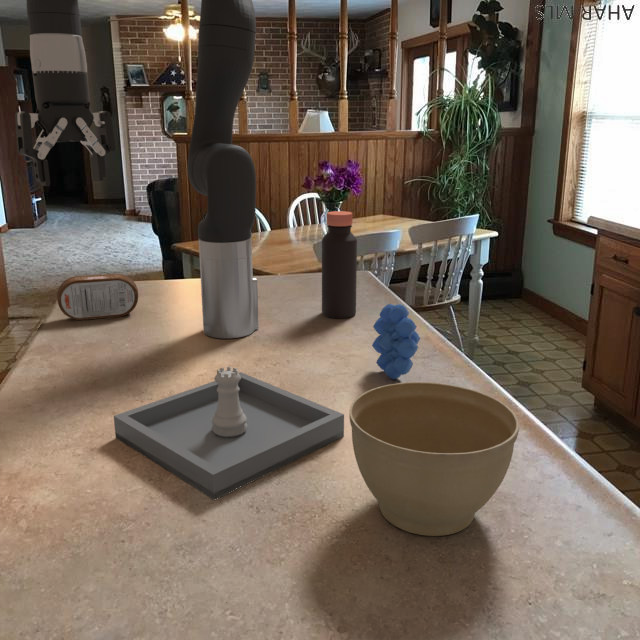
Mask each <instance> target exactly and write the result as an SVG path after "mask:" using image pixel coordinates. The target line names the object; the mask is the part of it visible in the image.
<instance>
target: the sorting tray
mask: <svg viewBox="0 0 640 640" xmlns="http://www.w3.org/2000/svg"><path fill="white" fill-rule="evenodd" d="M238 374H239V375H240V376H241V379H240V381H239V382H238V387H239V388H240V390H239V392H238V397H239V402H240V407H241V409H242V410H243V413H244V414H245V416H246V418H247V421H246V424H247V425H248V427H247V430H246V431H245V432H244V433H243V434H242V435H240V436H237V437H232V438H224V437H219V436H218V435H216V434H215V433H214V432H213V430H212V426H213V423H212V419H213V416H214V415H215V412H216V411H217V408H218V398H219V397H218V392H217V388H218V383H217V382H216V381H215V380H214V381H211V382H208V383H205V384H202V385H200V386H197V387H194V388H190V389H187V390H185V391H182V392H178V393H177V394H174V395H173V394H172V395H171V396H166V397H164V398H161V399H158V400H156V401H153V402H152V401H151V402H150V403H148V404H143V405H141V406H139V407H135V408H132V409H129V410H126V411H124V412H121V413H118V414H115V415H113V422H114V435H115V439H116V440H118V441H120V442H122V443H123V444H125V445H127V446H128V447H130V448H131V449H133V450H134V451H136V452H137V453H139V454H141V455H142V456H144V457H146V458H147V459H148V460H150V461H152V462H153V463H154V464H156V465H158V466H159V467H161V468H163V469H164V470H166V471H167V472H169V473H170V474H172V475H174V476H175V477H177V478H178V479H180V480H182V481H183V482H185V483H186V484H188V485H189V486H191V487H193V488H194V489H196V490H198V492H200V493H202V492H203V493H202V494H204V495H205V494H206V496H207V497H208V496H209V498H210V497H211V498H210V499H211V500H213V499H214V500H213V501H216V500H218V499H220V498H222V497H224V496H226V495H228V494H230V493H232V492H234V491H236V490H237V489H236V488H238V489H240V488H241V487H240V486H242V487H244V486H246V485H248V484H250V483H249V482H251V481H253V480H255V479H257V478H259V477H261V478H262V476H263V475H265V476H266V474H267V475H268V473H269V474H271V473H272V472H275V471H276V470H279V469H281V468H283V467H285V466H288V465H289V464H291V463H293V462H295V461H297V460H299V459H301V458H303V457H305V456H307V455H310V454H312V453H313V452H315V451H317V450H319V449H322V448H323V447H325V446H328V445H330V444H331V443H334V442H336V441H338V440H340V439H342V438H344V437H345V434H344V433H345V414H344V413H342V412H339V411H336V410H334V409H331V408H329V407H327V406H324V405H322V404H319V403H317V402H314V401H312V400H309V399H307V398H305V397H303V396H300V395H297V394H295V393H292V392H290V391H288V390H285V389H283V388H280V387H278V386H276V385H273V384H270V383H268V382H265V381H263V380H261V379H258V378H257V377H254V376H251V375H249V374H246V373H243V372H242V371H240V372H238ZM270 472H271V473H270ZM263 477H264V476H263ZM259 479H260V478H259ZM257 480H258V479H257ZM255 481H256V480H255ZM253 482H254V481H253ZM247 483H248V484H247ZM251 483H252V482H251ZM245 484H246V485H245ZM243 485H244V486H243ZM239 487H240V488H239ZM235 489H236V490H235ZM233 490H234V491H233ZM231 491H232V492H231ZM229 492H230V493H229ZM227 493H228V494H227ZM225 494H226V495H225ZM223 495H224V496H223ZM221 496H222V497H221ZM219 497H220V498H219ZM217 498H218V499H217ZM215 499H216V500H215Z"/></svg>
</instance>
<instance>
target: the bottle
mask: <svg viewBox="0 0 640 640" xmlns="http://www.w3.org/2000/svg"><path fill="white" fill-rule="evenodd" d="M353 218H354V217H353V212H352V211H344V210H342V211H341V210H334V211H329V212H326V228H328V232H327V233H326V234H324V236H323V237H322V239H321V314H322V315H323V316H325V317H327V318H331V319H347V318H352V317H354V316H355V315H356V313H357V273H358V272H357V265H358V264H357V263H358V239H357V237H356V236H355V235H354V234H353V233H352V232H351V230H352V229H351V228H353Z"/></svg>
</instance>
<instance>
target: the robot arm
mask: <svg viewBox="0 0 640 640" xmlns="http://www.w3.org/2000/svg"><path fill="white" fill-rule="evenodd" d="M26 14H27V16H26V17H27V23H28V32H29V33H28V34H29V57H30V63H31V71H32V72H31V73H32V79H33V80H32V81H33V87H34V97H35V102H36V112H35V113H34V112H33V113H31V112H30V113H29V112H26V111H17V112H15V114H14V121H15V133H16V148H17V153H18V154H19V155H20V156H26V157H28V158H30V159H31V160H32V162H33V164H32V165H33V172H34V179H35V180H36V182H37V183H38V184H39V185H40V186H43V187H46V186H47V187H49V186H51V179H50V177H51V176H50V168H49V161H48V159H46V157H47V155H48V154H49V152H50V150H51V149H52V148H53V147H54V146H55V144H56V143H67V142H74V143H75V142H80V143H81V144H82V145H83V146H84V147H85V148H86V149H87V150H88V151H89V154H91V155H92V156H91V155H90V156H89V157H90V167H91V168H90V169H91V175H92V177H91V178H92V180H93V181H94V182H103V181H104V178H106V175H107V171H106V160H105V159H106V158H105V156H106V155H107V154H108V153H111V152H115V150H116V140H115V135H114V128H113V127H114V126H113V120H112V119H113V118H112V114H111V112H110V111H107V110H106V111H105V110H104V111H103V110H102V111H101V110H100V111H96V112H92V109H91V106H90V102H91V96H90V88H89V75H88V63H87V56H86V55H87V54H86V50H85V46H84V41H83V37H82V36H83V35H82V34H83V33H82V24H81V14H80V8H79V0H26ZM199 16H200V17H199V25H198V26H199V28H198V41H197V42H198V44H197V45H198V47H197V48H198V49H197V70H196V71H197V74H196V87H195V110H194V117H193V124H192V131H191V137H190V143H189V149H188V157H187V166H186V167H187V177H188V180H189V182H190V185H191V186H192V188H193V189H194V190H195V191H196V192H197V193H199V194H200V195H203V196H205V197H206V198H207V210H206V212H207V213H206V215H205V218H204V219H201V220H200V222H199V223H198V224H197V234H198V235H197V237H198V251H199V252H198V255H199V256H198V257H199V269H200V270H199V271H200V272H199V273H200V274H199V275H200V287H201V305H202V325H203V327H202V328H203V329H202V331H203V334H204V335H206V336H208V337H210V338H213V339H214V338H216V339H237V338H242V337H246V336H249V335H251V334H252V333H254V331H255V330H258V329H259V328H260V327H259V300H258V299H259V297H258V279H257V278H256V277H255V276H253V271H254V270H253V248H252V247H253V243H252V228H253V227H254V226H253V225H254V222H255V219H256V210H257V209H256V206H257V204H256V203H257V201H256V199H257V193H256V192H257V177H256V176H257V175H256V168H255V164H254V161H253V158H252V155H250V153H249V152H248V150H246V149H245V148H244V147H241V146H240V145H237V144H233V132H234V131H233V128H234V120H235V114H236V110H237V108H238V105H239V102H240V100H241V97H242V96H243V93H244V90H245V89H246V86H247V85H248V82H249V78H250V76H251V72H252V69H253V65H254V61H255V48H256V37H257V34H256V33H257V21H256V12H255V7H254V3H253V0H201V2H200V15H199ZM93 122H94V125H95V126H96V127H97V130H98V136H99V137H98V138H99V139H98V138H97V136H96V135H95V134H94V132H93V131H92V130H91V129H90V128H91V126H92V124H93ZM35 123H37V124H38V126H39V127H40V128H41V129H42V130H41V132H40V133H39V135H38V136H37V138H36V140H35V144H34V145H33V134H32V133H33V132H32V128H34V127H35Z"/></svg>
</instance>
